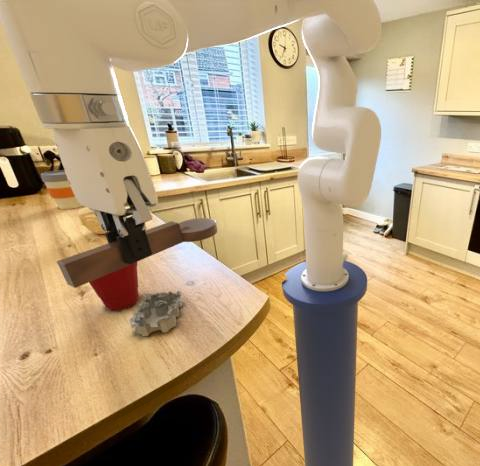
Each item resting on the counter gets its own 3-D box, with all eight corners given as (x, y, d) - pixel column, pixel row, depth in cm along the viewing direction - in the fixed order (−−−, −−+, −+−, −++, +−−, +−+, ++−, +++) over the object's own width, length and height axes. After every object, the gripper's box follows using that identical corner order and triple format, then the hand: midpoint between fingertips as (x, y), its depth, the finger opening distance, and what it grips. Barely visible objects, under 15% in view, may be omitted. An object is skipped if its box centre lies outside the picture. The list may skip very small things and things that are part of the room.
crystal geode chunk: (174, 332, 57) (169, 315, 55) (130, 339, 55) (124, 322, 53) (186, 300, 66) (182, 285, 64) (149, 305, 64) (144, 290, 62)
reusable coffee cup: (48, 211, 121) (33, 176, 115) (60, 203, 131) (47, 170, 126) (85, 208, 126) (73, 174, 120) (95, 200, 136) (84, 168, 130)
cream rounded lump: (81, 239, 96) (69, 208, 92) (96, 226, 106) (86, 198, 102) (121, 235, 100) (112, 205, 95) (132, 223, 110) (124, 196, 106)
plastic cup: (159, 301, 66) (146, 254, 61) (99, 325, 58) (78, 274, 53) (144, 283, 72) (131, 240, 67) (89, 303, 65) (69, 255, 60)
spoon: (85, 293, 33) (74, 269, 31) (57, 279, 35) (46, 257, 34) (225, 230, 49) (222, 212, 48) (200, 224, 52) (196, 207, 51)
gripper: (162, 113, 32) (197, 257, 40) (86, 112, 38) (129, 237, 46) (81, 114, 26) (140, 285, 33) (7, 113, 32) (71, 257, 40)
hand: (133, 256), depth 40 cm, fingers closed on spoon
